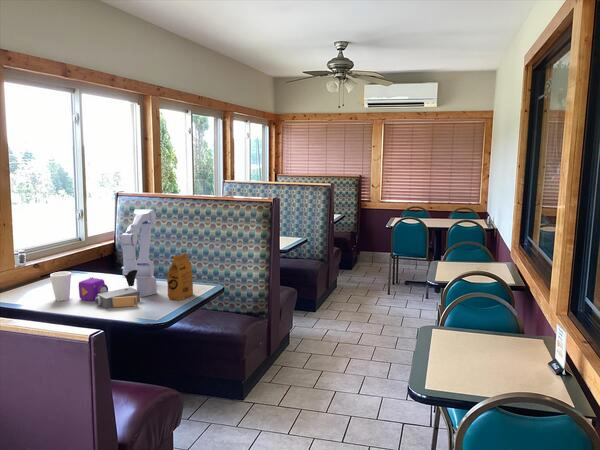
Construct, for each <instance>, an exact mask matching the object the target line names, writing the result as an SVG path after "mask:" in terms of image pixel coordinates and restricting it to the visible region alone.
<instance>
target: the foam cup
mask: <svg viewBox="0 0 600 450" xmlns="http://www.w3.org/2000/svg"><path fill="white" fill-rule="evenodd" d="M49 277H50V282H51V286H52V289H53V290H52V291H53V295H54V298H55V301H57V302H63V300H64V301H68V300H69V299H70V296H71V294H70V293H71V282H72V281H71V279H72V272H71V271H57V272H53V273H50V275H49Z"/></svg>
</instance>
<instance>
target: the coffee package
mask: <svg viewBox="0 0 600 450" xmlns="http://www.w3.org/2000/svg"><path fill="white" fill-rule="evenodd" d="M171 259H172V263H171V266H170V267H169V270H168V272H167V277H166V280H167V297H168V299H169V300H171V299H172V300H176V301H182V300H184V299H186V298H190V297H191V296H193V295H194V286H193V285H194V282H193V281H194V279H193V278H194V277H193V269H192V263H191V261H190V259H189V257H188V255H187V253H186V252H183V253H182V254H181V255H172V256H171Z"/></svg>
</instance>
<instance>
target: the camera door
mask: <svg viewBox="0 0 600 450" xmlns="http://www.w3.org/2000/svg"><path fill="white" fill-rule="evenodd" d="M132 306H138V302H137V296H128V297H115V298H112V308H121V307H123V308H124V307H132Z"/></svg>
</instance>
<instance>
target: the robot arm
mask: <svg viewBox="0 0 600 450" xmlns="http://www.w3.org/2000/svg"><path fill="white" fill-rule="evenodd" d="M132 216H133V221H132V223H131V224H129V225H128V227H127V229H126V231H125V232H124V233H122V234H120V237H119V244H120V249H121V250H122V260H123V261H122V262H123V266H122V267H121V268H120V269H121V270H122V275H123V277H124V278H125V279H126V283H127V285H128V287H134V286H135V282H136V290H138V291H140V298H143V297H147V296H151V295H157V294H158V291H157V285H158V284H157V278H156V277H155V276H154V274H155V268H154V267H155V266H154V265H155V264H154V261H152V260H151V259H150V247H151V236H152V228H153V227H154V226H155V225H156V212H155V210H154V208H151V209H137V208H136V209H134V211H133V214H132ZM139 234H140V244H139V254H138V258H139V259H138V258H137V257H136V256H137V255H136V245H137V242H138V241H137V240H138V235H139ZM136 258H137V259H136Z"/></svg>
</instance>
